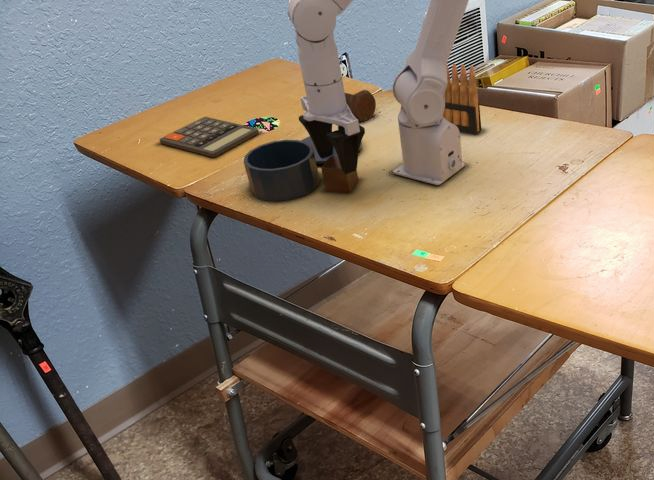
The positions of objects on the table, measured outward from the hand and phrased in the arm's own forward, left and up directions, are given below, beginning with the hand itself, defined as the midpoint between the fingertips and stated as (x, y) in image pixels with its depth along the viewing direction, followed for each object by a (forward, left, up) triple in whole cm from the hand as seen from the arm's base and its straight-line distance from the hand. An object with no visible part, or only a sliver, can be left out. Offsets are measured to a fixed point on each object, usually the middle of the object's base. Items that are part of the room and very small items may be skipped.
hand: (338, 163), depth 114 cm
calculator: (+36, -3, -4) cm, 36 cm away
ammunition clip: (-4, -27, -4) cm, 28 cm away
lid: (+11, -9, -3) cm, 15 cm away
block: (0, 0, -4) cm, 4 cm away
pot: (+9, +4, -4) cm, 11 cm away
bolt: (+21, -24, -4) cm, 32 cm away
